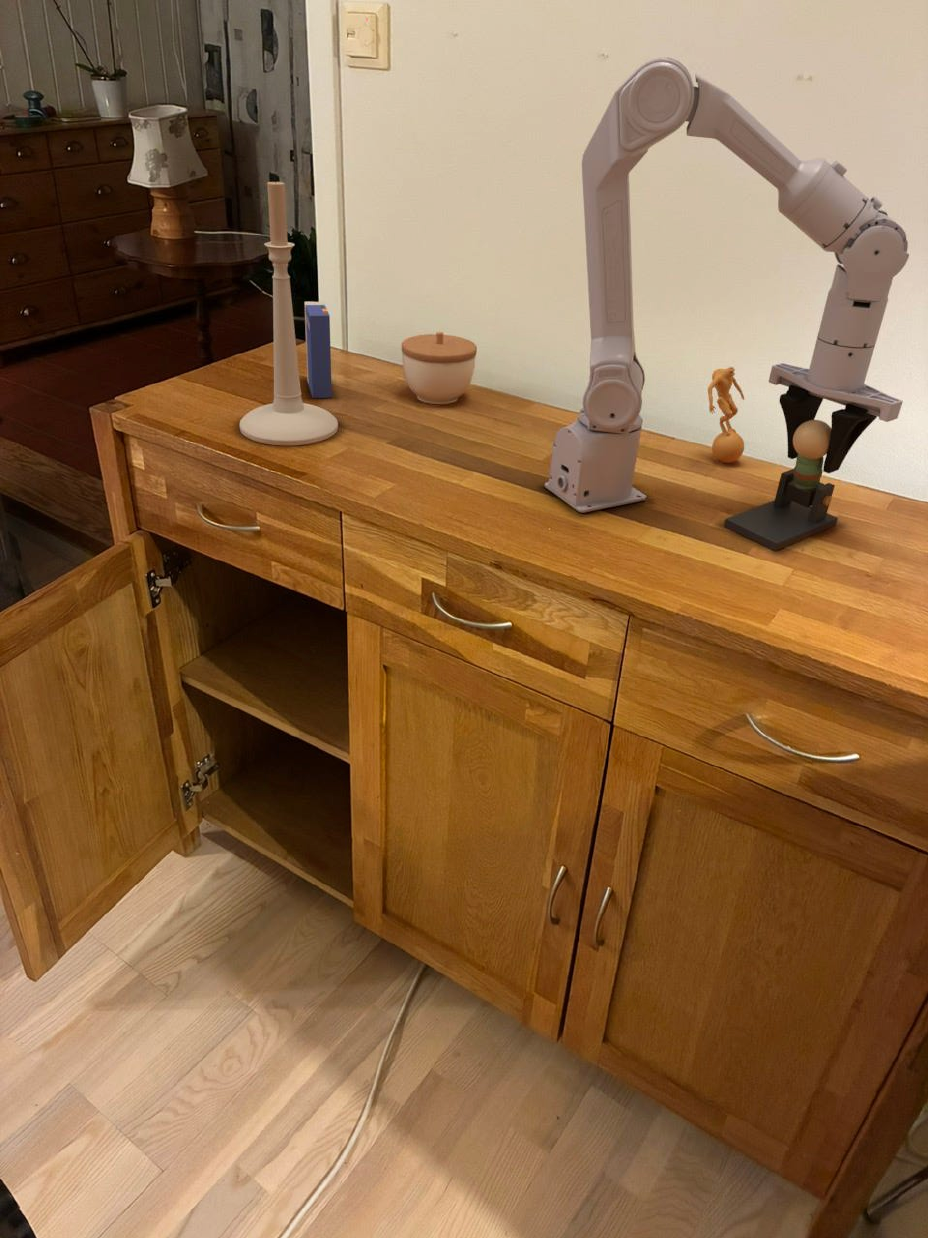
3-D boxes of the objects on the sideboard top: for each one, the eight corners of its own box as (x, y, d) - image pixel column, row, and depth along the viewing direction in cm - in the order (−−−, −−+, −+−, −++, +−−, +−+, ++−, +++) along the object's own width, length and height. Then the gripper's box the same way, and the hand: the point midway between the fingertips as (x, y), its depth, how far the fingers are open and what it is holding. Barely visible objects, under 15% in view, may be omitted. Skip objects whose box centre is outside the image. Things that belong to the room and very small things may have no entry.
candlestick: (294, 453, 114) (280, 189, 98) (219, 429, 119) (194, 176, 103) (357, 424, 123) (354, 179, 107) (284, 403, 129) (271, 167, 113)
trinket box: (473, 411, 130) (477, 345, 125) (398, 407, 130) (399, 341, 125) (474, 387, 139) (477, 324, 134) (403, 383, 139) (404, 320, 134)
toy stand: (775, 551, 98) (786, 509, 96) (723, 526, 103) (732, 485, 100) (836, 525, 104) (848, 485, 102) (784, 502, 109) (794, 463, 106)
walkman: (332, 397, 132) (329, 312, 125) (312, 398, 131) (309, 312, 125) (325, 380, 138) (323, 298, 132) (307, 380, 138) (303, 298, 131)
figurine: (722, 474, 115) (743, 380, 109) (681, 460, 119) (698, 368, 112) (753, 457, 121) (775, 367, 114) (713, 444, 124) (731, 356, 118)
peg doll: (807, 512, 102) (821, 435, 96) (776, 499, 105) (787, 422, 99) (830, 498, 104) (845, 421, 98) (799, 485, 106) (811, 409, 100)
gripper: (932, 352, 92) (892, 478, 99) (808, 319, 101) (779, 435, 109) (895, 363, 88) (856, 492, 95) (769, 327, 97) (742, 447, 105)
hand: (813, 463), depth 102 cm, fingers closed on peg doll, 4 cm apart
